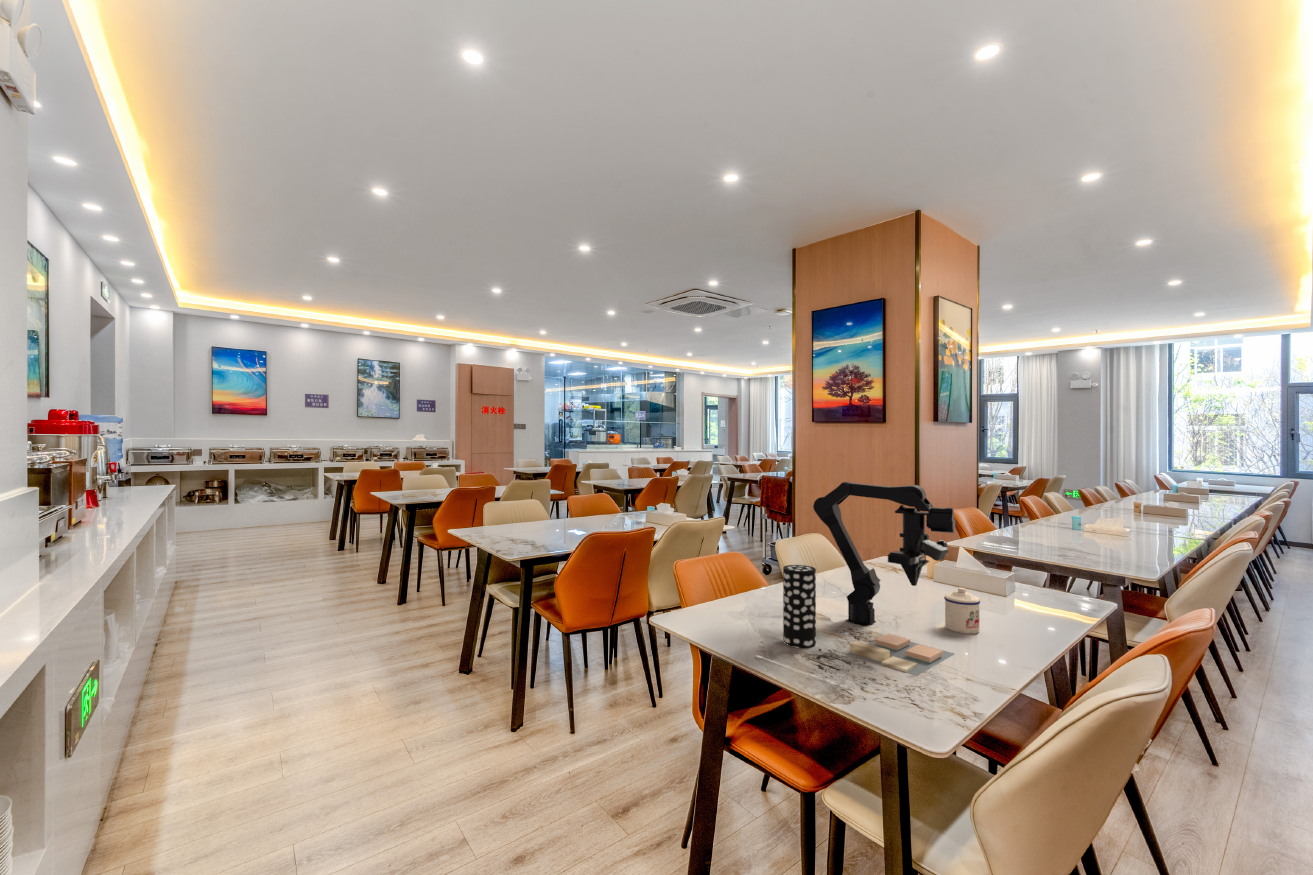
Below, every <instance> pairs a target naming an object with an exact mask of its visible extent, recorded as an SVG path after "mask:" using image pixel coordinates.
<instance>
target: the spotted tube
mask: <svg viewBox="0 0 1313 875" xmlns="http://www.w3.org/2000/svg"><path fill="white" fill-rule="evenodd" d="M782 570H783V572H782V577H783V578H782V585H783V587H782V588H783V591H782V595H783V596H782V598H783V600H782V601H783V602H782V603H783V606H782V608H783V609H782V610H783V613H782V614H783V616H782V618H783V619H782V620H783V621H782V622H783V627H782V628H783V630H782V631H783V633H782V635H783V640H784V642H785V643H786V644H788V645H790V646H794V647H798V648H797V649H812V648H814V647H816V645H817V614H816V613H817V597H816V596H817V592H816V591H817V590H816V588H817V587H816V586H817V584H816V583H817V581H816V580H817V578H816V577H817V574H816V573H817V571H816V570H817V569H816V567H814V566H810V565H804V564H789V565H784V566H783V568H782ZM783 640H782V641H783ZM786 644H785V645H786ZM788 645H787V646H788ZM790 646H789V647H790ZM794 647H793V648H794Z"/></svg>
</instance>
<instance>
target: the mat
mask: <svg viewBox="0 0 1313 875" xmlns="http://www.w3.org/2000/svg"><path fill="white" fill-rule="evenodd" d="M867 644H869V645H873V646H876V647H880V646H877V644H875V639H874V640H872V641H870V642H868V643H867ZM918 644H920V645H923V646H927V647H931V648H933V647H932V646H928V645H924V644H922V643H916V642H912V641H910V644H909V646H907V647H904V648H902V649H900V650H898V651H894V650H891V649H887V648H884V647H880V648H884V649H887V650H890V657H892V656H894V657H897V658H900V659H904V660H907V661H911V662H914V663H917V667H915V668H913V669H911V670H909V671H907V672H904V671H901V670H898V669H894V668H891V667H888V666H885V665H881V662H880V661H877V660H873V659H870V658H867V657H863V656H860V655H857V654H854V653H850V650H849V651H847V652H845V653H844V654H845V655H848V656H851V657H855V658H856V659H860V660H864V661H867V662H871V663H874V664H877V665H880V666H883V667H887V668H890V669H892V670H895V671H899V672H903V673H905V674H906V673H907V674H909V675H912V676H916V677H918V676H919V675H921V674H923V673H924V672H926V671H928V670H930V669H932V668H934V666H937V665H939V664H940V663H942V662H944V661H945V660H947V659H949V658H951V657H953V656H954V655H955V654H956V653H954V652H951V651H947V650H943V649H940V648H935V647H934V648H935V649H938V650H942V651H943V656H941V657H940V658H939V659H937V660H935V661H933V662H932V663H930V664H929V663H925V662H922V661H918V660H915V659H912V658H908V657H907V656H905V651H906V650H908V649H910V648H912V647H914V646H916V645H918Z"/></svg>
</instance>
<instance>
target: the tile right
mask: <svg viewBox="0 0 1313 875" xmlns="http://www.w3.org/2000/svg"><path fill="white" fill-rule="evenodd" d="M917 644H918V645H916V646H914V647H912V648H910V649H908V650H906V651H905V656H907V657H908V658H912V659H915V660H918V661H922V662H925V663H929V664H930V663H932V662H933V661H935V660H937V659H939V658H940V657H941V656H943V651H942V650H943V649H940V650H938V649H939V648H936V649H935V647H932V646H929V647H927V646H928V645H925V646H923V645H924V644H921V643H917ZM920 644H921V645H920ZM931 647H932V648H931Z"/></svg>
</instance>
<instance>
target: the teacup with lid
mask: <svg viewBox="0 0 1313 875" xmlns="http://www.w3.org/2000/svg"><path fill="white" fill-rule="evenodd" d="M979 598H980V597H977V596H975V595H972V594H971V593H970V592H967V589H966V588H964V587H958V588H957V590H956V591H955V590H954V591H953V592H951V593H945V594H944V597H943V600H944V617H945V618H944V622H945V623H944V626H945V628H946V629H947V630H949V631H952V632H956V633H960V634H966V635H972V634H973V635H974V634H978V633H979V632H980V604H981V601H980V600H981V599H979Z"/></svg>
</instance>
